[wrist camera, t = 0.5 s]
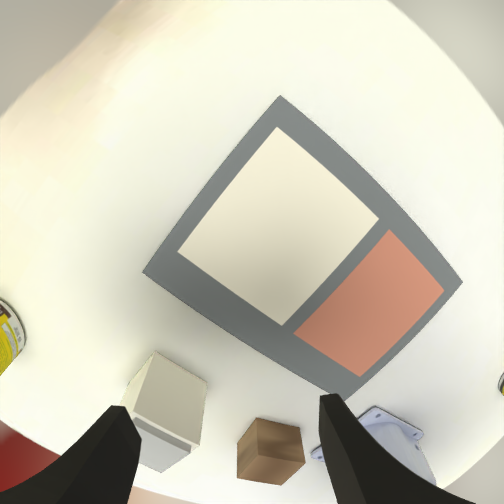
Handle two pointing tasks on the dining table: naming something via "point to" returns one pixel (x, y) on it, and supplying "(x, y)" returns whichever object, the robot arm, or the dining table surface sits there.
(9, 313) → the supplement bottle
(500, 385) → the supplement bottle
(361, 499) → the robot arm
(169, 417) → the cream and grey box
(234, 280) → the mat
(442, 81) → the dining table surface
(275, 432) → the walnut block
